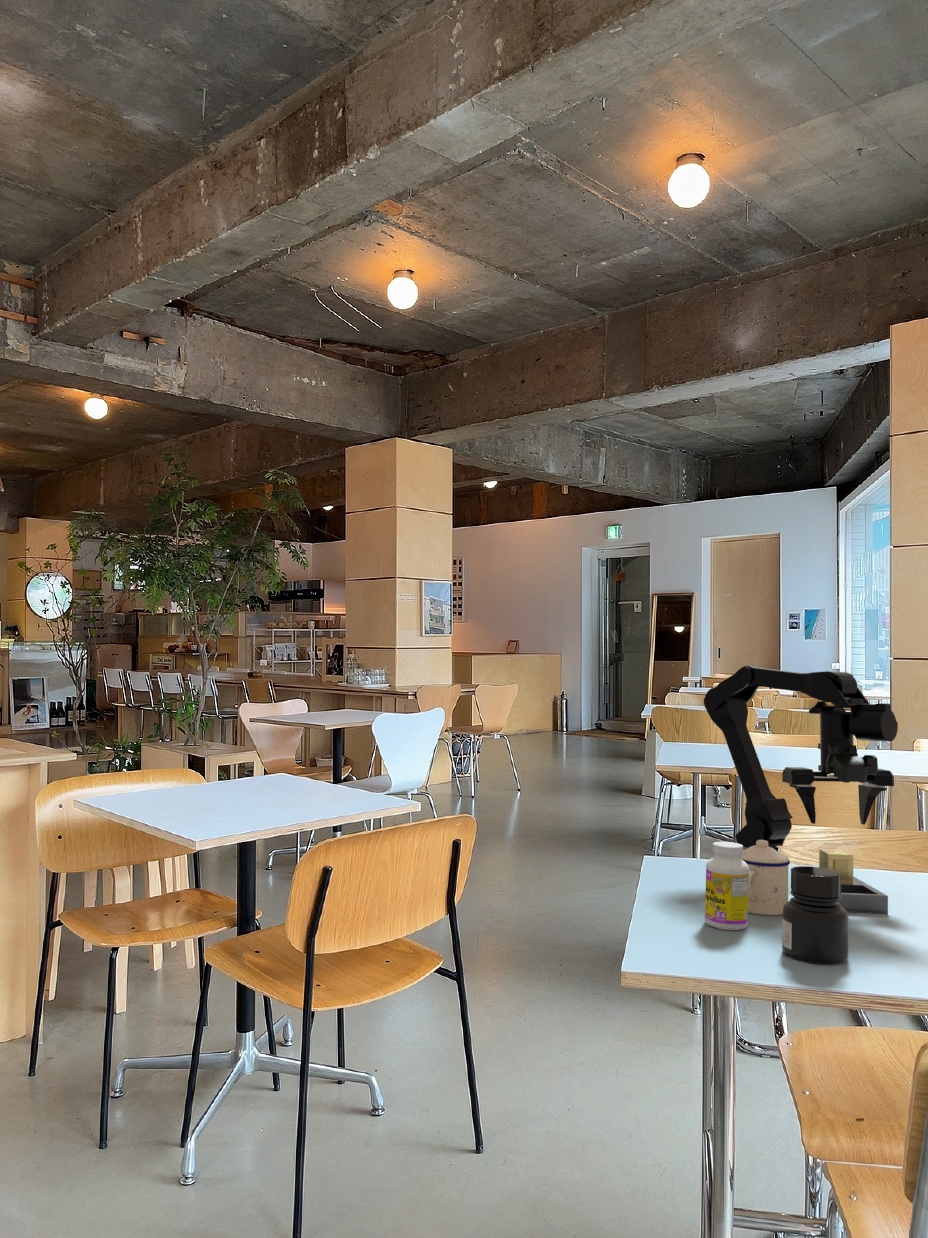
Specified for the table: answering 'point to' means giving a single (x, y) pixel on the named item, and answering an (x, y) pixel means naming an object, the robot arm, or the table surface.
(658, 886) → the table surface
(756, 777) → the robot arm
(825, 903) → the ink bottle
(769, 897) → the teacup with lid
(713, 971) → the table surface
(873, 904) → the dark grey tray
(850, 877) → the pale yellow block
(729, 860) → the supplement bottle
